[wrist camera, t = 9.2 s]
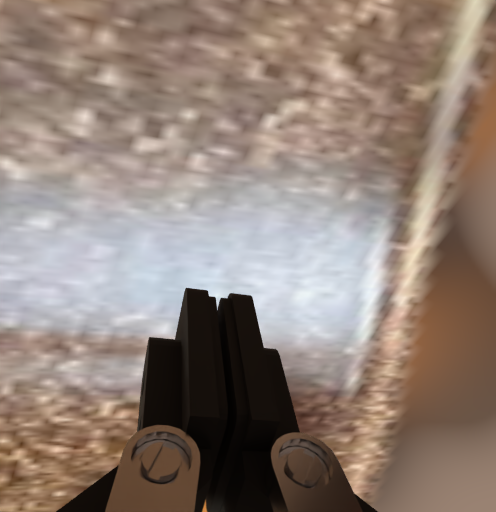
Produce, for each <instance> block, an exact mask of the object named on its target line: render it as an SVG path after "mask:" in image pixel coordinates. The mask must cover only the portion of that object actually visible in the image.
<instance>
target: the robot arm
mask: <svg viewBox="0 0 496 512" xmlns="http://www.w3.org/2000/svg"><path fill="white" fill-rule="evenodd" d="M205 501H206V509H207V512H377V511H376V510H375V509H374V508H372V507H371V506H370V505H368V504H367V503H366V502H365V501H363V500H362V499H361V498H359V497H358V496H357V495H356V494H354V492H353V490H352V488H351V486H350V484H349V482H348V480H347V478H346V476H345V474H344V471H343V469H342V467H341V465H340V463H339V461H338V459H337V457H336V456H335V454H334V453H333V451H332V450H331V449H330V448H329V447H328V446H327V445H326V444H325V443H324V442H322V441H321V440H319V439H317V438H316V437H314V436H311V435H308V434H305V433H300V431H299V428H298V424H297V420H296V416H295V412H294V409H293V405H292V401H291V397H290V393H289V389H288V386H287V382H286V378H285V374H284V370H283V367H282V363H281V359H280V355H279V353H278V351H277V350H276V349H268V348H264V347H263V343H262V338H261V334H260V329H259V325H258V321H257V316H256V312H255V307H254V303H253V298H252V296H249V295H241V294H233V293H230V294H229V296H228V299H227V298H221V299H220V302H219V306H218V310H217V305H216V298H215V297H210V296H209V295H208V291H207V290H199V289H191V288H186V289H185V293H184V297H183V302H182V307H181V312H180V317H179V322H178V327H177V332H176V337H175V340H173V339H163V338H152V337H149V340H148V345H147V351H146V358H145V364H144V371H143V378H142V387H141V396H140V407H139V418H138V429H137V432H136V433H135V434H134V435H133V436H132V437H131V438H130V439H129V440H128V442H127V444H126V446H125V448H124V450H123V453H122V457H121V460H120V463H119V465H118V466H117V467H115V468H114V469H113V470H111V471H110V472H109V473H107V474H106V475H105V476H103V477H102V478H101V479H99V480H98V481H97V482H95V483H94V484H93V485H91V486H90V487H89V488H87V489H86V490H85V491H83V492H82V493H81V494H79V495H78V496H77V497H75V498H74V499H73V500H71V501H70V502H69V503H67V504H66V505H65V506H63V507H62V508H61V509H59V510H58V511H57V512H202V510H203V507H204V504H205Z"/></svg>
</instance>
